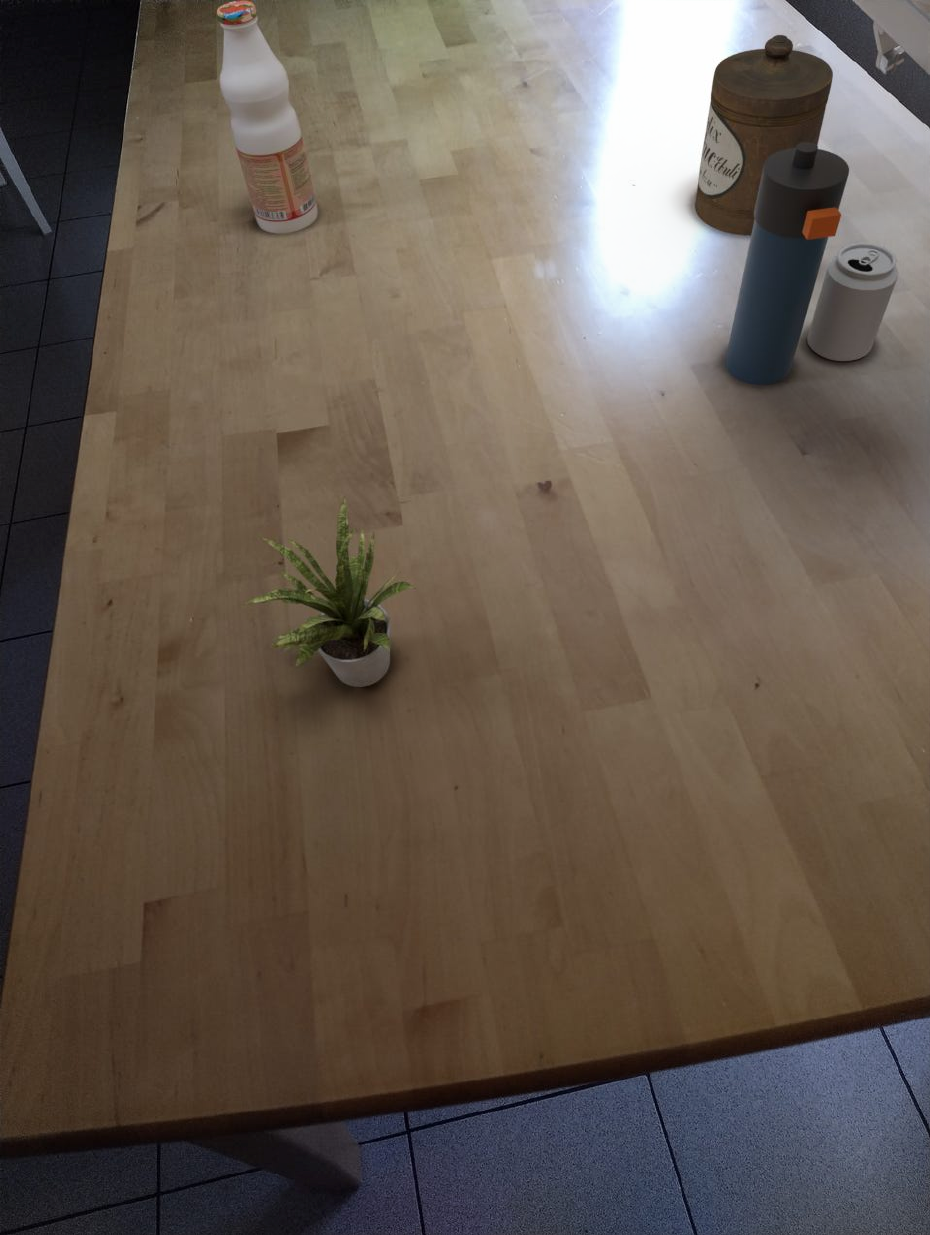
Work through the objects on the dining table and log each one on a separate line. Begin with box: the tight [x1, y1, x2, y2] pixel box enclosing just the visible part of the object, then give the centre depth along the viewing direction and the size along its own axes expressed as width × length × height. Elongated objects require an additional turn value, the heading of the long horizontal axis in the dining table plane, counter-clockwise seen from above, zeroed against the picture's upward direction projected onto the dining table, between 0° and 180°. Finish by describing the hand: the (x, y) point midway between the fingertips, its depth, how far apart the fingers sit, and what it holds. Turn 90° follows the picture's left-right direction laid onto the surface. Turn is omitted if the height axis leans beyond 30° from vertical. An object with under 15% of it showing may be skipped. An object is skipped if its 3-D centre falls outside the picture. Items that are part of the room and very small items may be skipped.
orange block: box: [802, 207, 842, 240], centre depth 83 cm, size 1×3×2 cm, turn 97°
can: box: [806, 242, 899, 362], centre depth 100 cm, size 8×8×12 cm
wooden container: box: [694, 34, 834, 236], centre depth 115 cm, size 15×15×22 cm
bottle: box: [724, 142, 850, 386], centre depth 94 cm, size 8×8×26 cm
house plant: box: [242, 496, 417, 688], centre depth 77 cm, size 14×14×16 cm
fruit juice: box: [216, 0, 319, 234], centre depth 120 cm, size 9×9×28 cm
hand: (921, 100), depth 75 cm, fingers open, 8 cm apart
